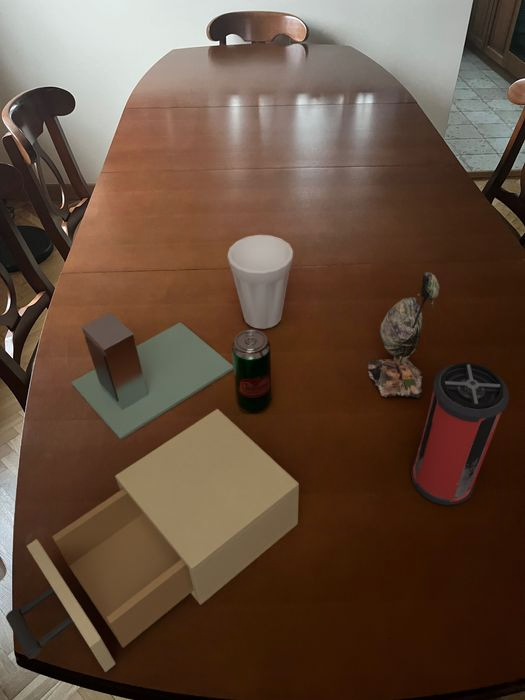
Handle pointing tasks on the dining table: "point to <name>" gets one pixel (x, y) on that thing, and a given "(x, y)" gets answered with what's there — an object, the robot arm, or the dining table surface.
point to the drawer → (109, 576)
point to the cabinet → (213, 499)
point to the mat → (158, 379)
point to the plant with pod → (402, 344)
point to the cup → (261, 277)
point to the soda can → (252, 370)
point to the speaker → (458, 431)
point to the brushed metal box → (115, 360)
